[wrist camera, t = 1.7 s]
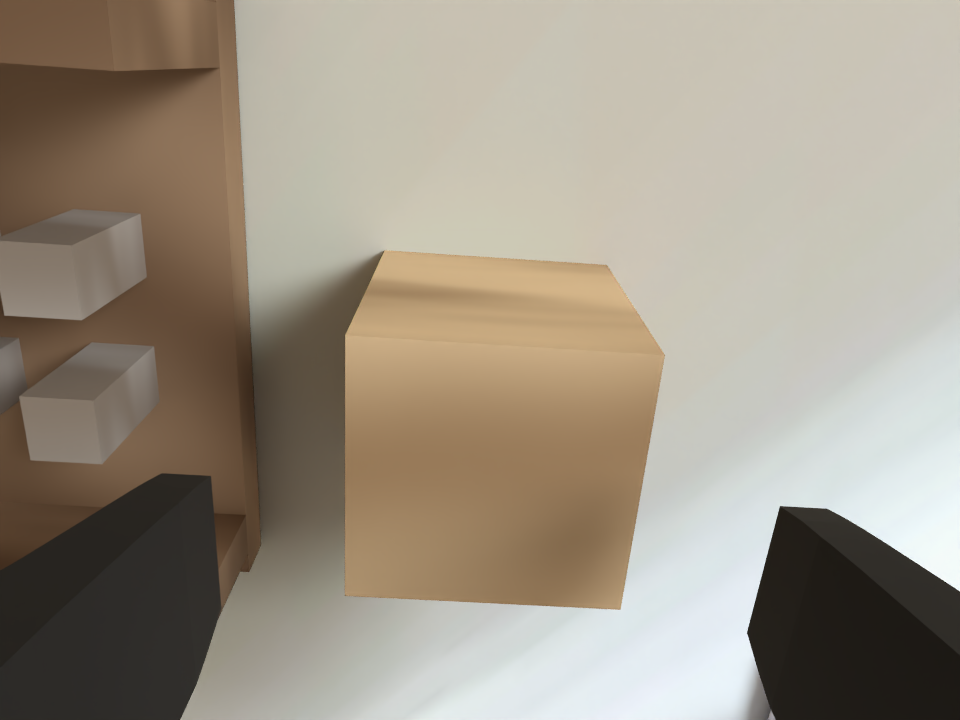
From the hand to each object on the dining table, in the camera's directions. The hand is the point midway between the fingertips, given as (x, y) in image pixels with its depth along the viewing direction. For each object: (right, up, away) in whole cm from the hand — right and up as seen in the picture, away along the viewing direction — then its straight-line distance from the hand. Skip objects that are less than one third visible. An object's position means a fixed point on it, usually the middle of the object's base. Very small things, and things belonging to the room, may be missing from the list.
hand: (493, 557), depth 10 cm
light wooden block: (0, +2, +6) cm, 7 cm away
